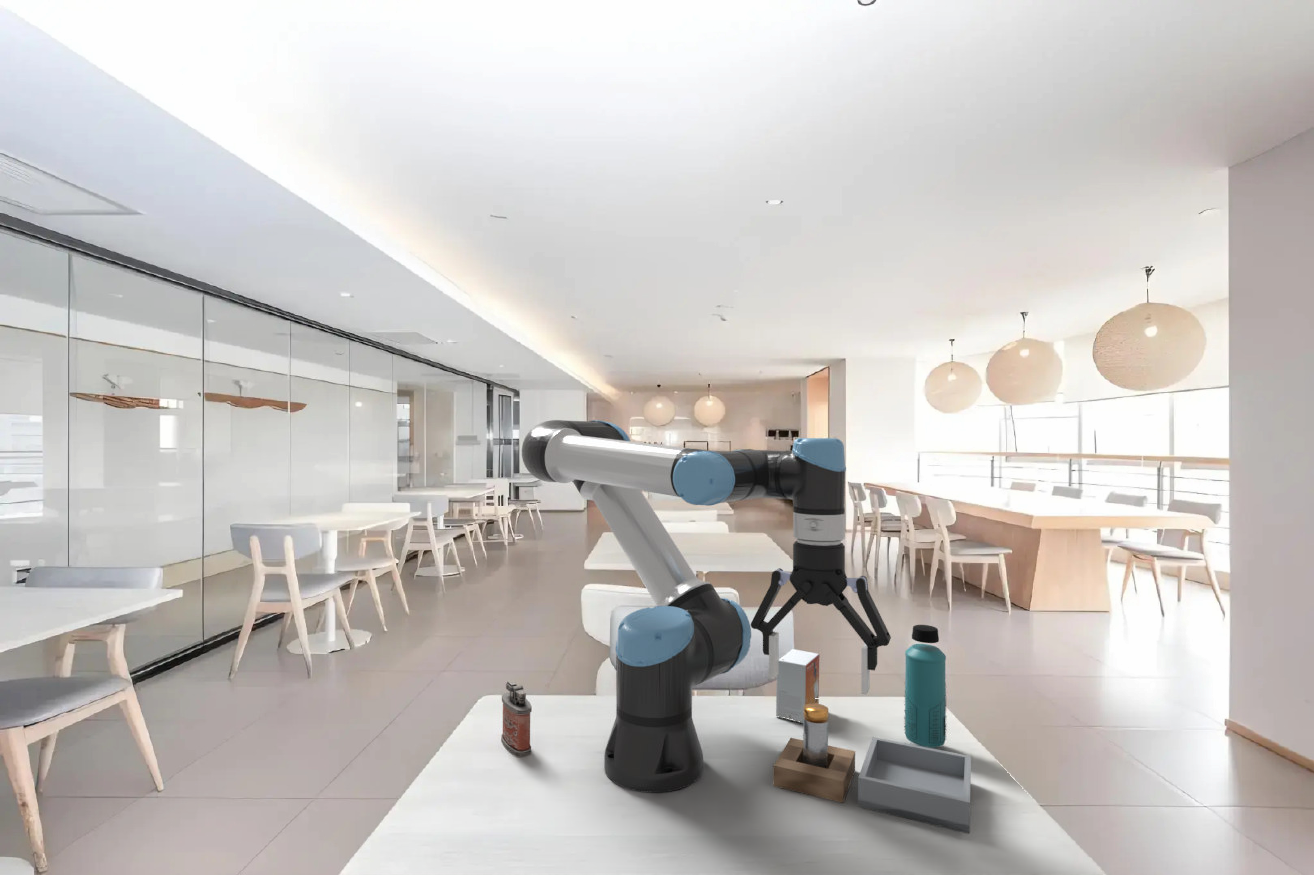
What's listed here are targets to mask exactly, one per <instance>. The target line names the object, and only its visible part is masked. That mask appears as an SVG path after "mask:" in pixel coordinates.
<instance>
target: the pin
mask: <svg viewBox="0 0 1314 875" xmlns="http://www.w3.org/2000/svg"><path fill="white" fill-rule="evenodd" d="M802 724H803V728H802V729H803V732H802V737H803V738H802V740H803V763H804V764H809V765H813V766H818V767H822V768H827V769H828V746H829V707H827V706H826V705H824V704H821V703H819V704H816V703H810V704H806V705H804V722H803V723H802Z"/></svg>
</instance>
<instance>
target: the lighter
mask: <svg viewBox="0 0 1314 875" xmlns="http://www.w3.org/2000/svg"><path fill="white" fill-rule="evenodd" d="M505 689H506V690H507V691H508V692H506V693H502V694H501V702H502V734H501V735H500V737H501V739H500V741H501V743H502V746H503V747H504V748H505V749H506V751H508V752H509V753H510V754H511V755H513V756H515V757H516V758H525V757H529V756H530V755H531V754H532V746H531V713H532V711H533V710H532V709H533V708H532V704H531V702H530V701H529V700H528V699H527V698H526V697H527V691H525V690H524V687H523V685H522V684H519V685H518V684H517V683H515V682H514V681H513V680H512V679H511V680H506V682H505Z"/></svg>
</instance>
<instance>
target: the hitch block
mask: <svg viewBox="0 0 1314 875" xmlns="http://www.w3.org/2000/svg"><path fill="white" fill-rule="evenodd" d="M772 772H773V773H772V774H773V779H772V780H773V782H772V783H773V784H772V786H773V787H777V788H781V789H785V790H789V791H793V792H797V793H801V794H805V795H810V796H813V797H818V798H821V799H822V798H823V799H826V800H829V801H834V802H839V803H844V802H845V800H846V797H847V793H848V792H849V791H848V790H849V788H850V785H851V784H852V783H851V782H852V779H853V777H854V775H855V772H856V750H851V749H847V748H843V747H842V748H841V747H837V746H834V745H828V769H827V768H822V767H818V766H813V765H809V764H804V763H803V739H798V738H795V737H794V738H793V737H790V738H789V740H788V742H787V743H786V745H785V746H784V748H783V749H782V751H781V752H780V754H779V756H778V758H776V760H775V762H774V764H773V771H772Z"/></svg>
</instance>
